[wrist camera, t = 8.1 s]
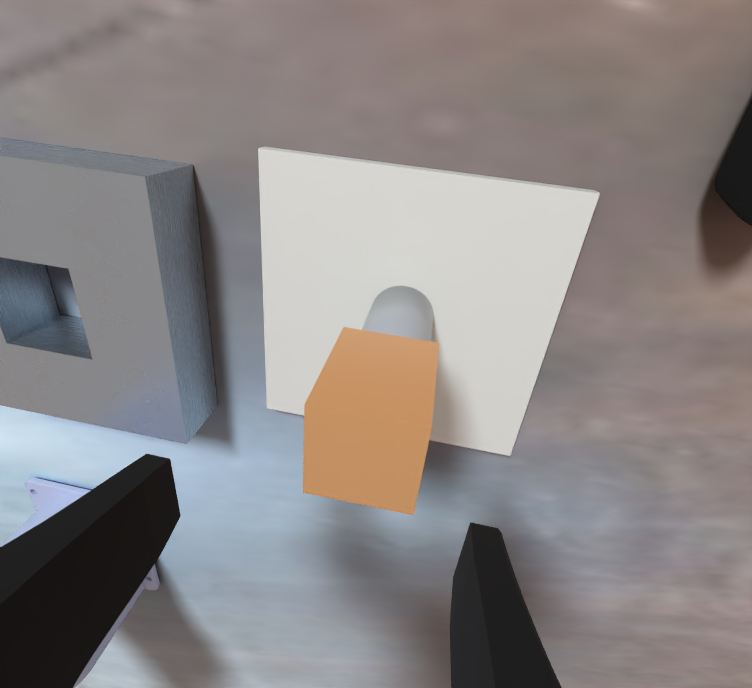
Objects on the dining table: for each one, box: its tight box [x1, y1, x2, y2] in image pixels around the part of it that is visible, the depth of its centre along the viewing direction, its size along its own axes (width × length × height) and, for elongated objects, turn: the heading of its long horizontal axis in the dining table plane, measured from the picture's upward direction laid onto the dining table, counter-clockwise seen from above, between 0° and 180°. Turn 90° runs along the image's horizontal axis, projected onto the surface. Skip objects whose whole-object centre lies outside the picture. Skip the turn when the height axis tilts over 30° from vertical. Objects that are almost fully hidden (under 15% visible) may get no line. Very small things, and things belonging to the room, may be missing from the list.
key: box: [303, 286, 439, 515], centre depth 15 cm, size 3×3×8 cm
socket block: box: [0, 138, 218, 444], centre depth 20 cm, size 12×12×3 cm
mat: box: [258, 147, 600, 456], centre depth 19 cm, size 12×12×1 cm
